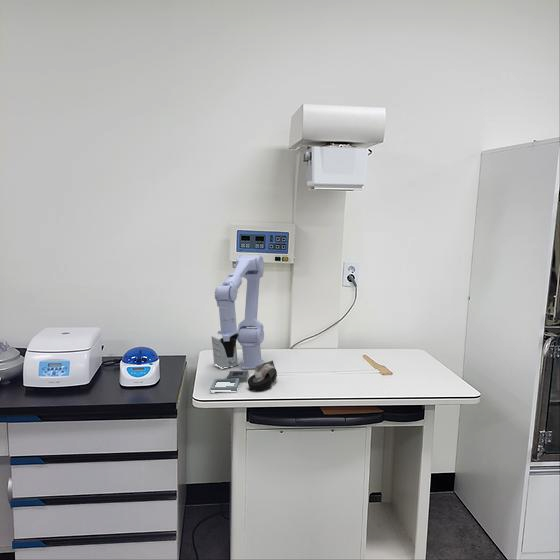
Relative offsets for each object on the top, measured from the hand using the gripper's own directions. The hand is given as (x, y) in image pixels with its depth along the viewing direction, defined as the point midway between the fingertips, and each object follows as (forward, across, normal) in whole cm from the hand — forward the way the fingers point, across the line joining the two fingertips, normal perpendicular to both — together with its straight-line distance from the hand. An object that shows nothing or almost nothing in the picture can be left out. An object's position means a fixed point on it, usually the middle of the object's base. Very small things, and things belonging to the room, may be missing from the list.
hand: (231, 355), depth 180 cm
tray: (+10, +5, -2) cm, 11 cm away
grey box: (+10, -20, -6) cm, 23 cm away
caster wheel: (+10, +5, +12) cm, 16 cm away
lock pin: (+3, 0, 0) cm, 3 cm away
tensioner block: (+10, -4, +1) cm, 11 cm away
